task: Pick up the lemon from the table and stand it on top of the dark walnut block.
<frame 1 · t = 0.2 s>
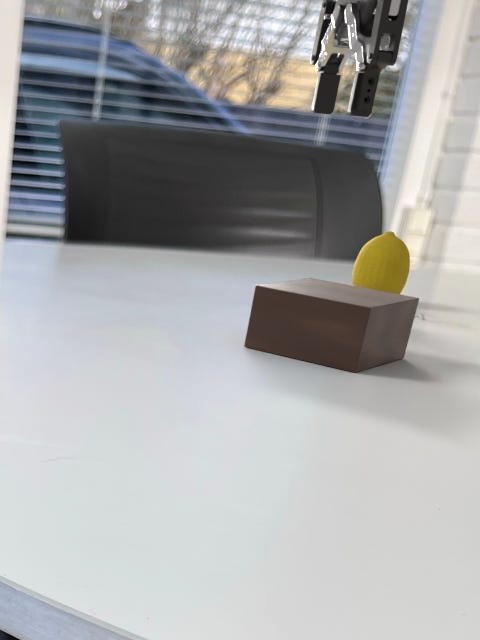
hand: (339, 115, 107), 18 cm above the table, tool pointing down, fingers open, 8 cm apart
block: (324, 352, 90), on the table
lemon: (370, 313, 112), on the table
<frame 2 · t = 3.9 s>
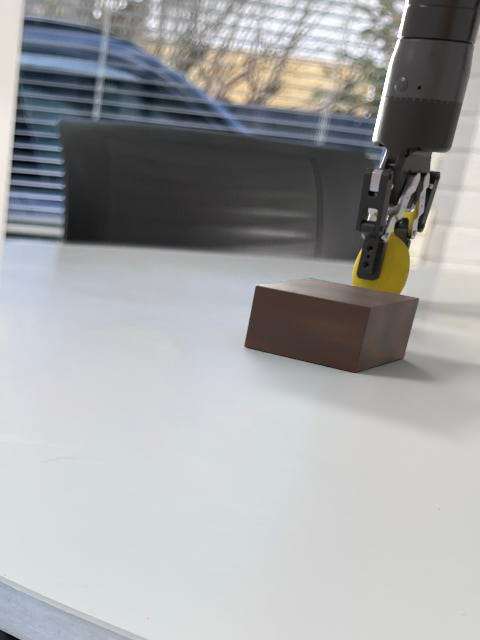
hand: (379, 276, 110), 4 cm above the table, tool pointing down, fingers closed on lemon, 5 cm apart
lemon: (370, 313, 112), on the table, touching gripper
when the fingers open (9 cm above the table, at t = 10.8 s): lemon stays where it is, resting on block.
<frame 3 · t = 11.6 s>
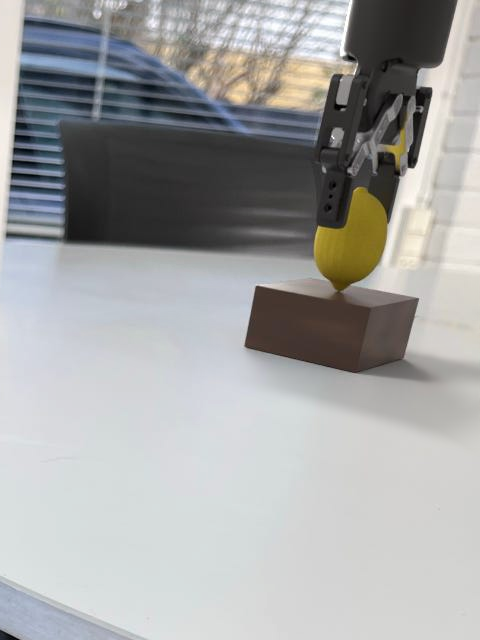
hand: (353, 226, 85), 10 cm above the table, tool pointing down, fingers open, 8 cm apart
lemon: (338, 294, 87), point 5 cm above the table, touching block
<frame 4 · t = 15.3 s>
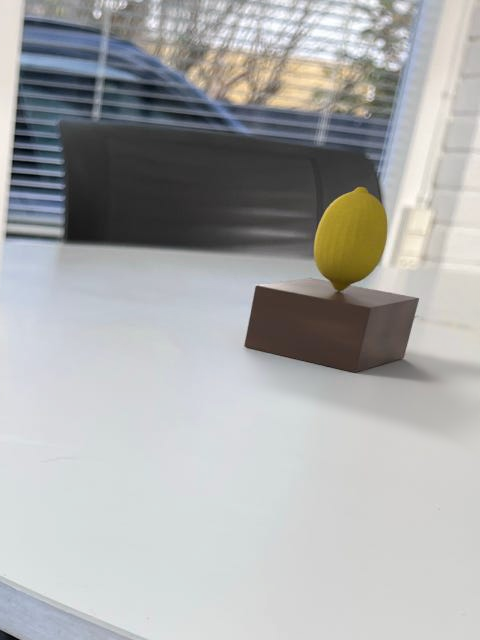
nothing on the table moved.
at the end: lemon inside the target area on the block (0.1 cm from its centre), point 4.8 cm above the block's base; lemon touching block; the gripper is holding nothing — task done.
